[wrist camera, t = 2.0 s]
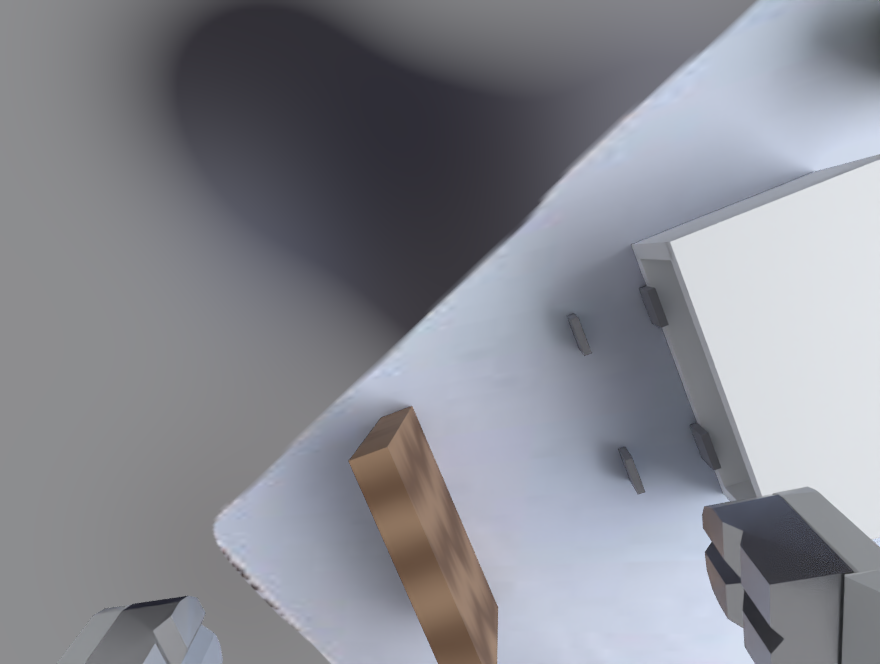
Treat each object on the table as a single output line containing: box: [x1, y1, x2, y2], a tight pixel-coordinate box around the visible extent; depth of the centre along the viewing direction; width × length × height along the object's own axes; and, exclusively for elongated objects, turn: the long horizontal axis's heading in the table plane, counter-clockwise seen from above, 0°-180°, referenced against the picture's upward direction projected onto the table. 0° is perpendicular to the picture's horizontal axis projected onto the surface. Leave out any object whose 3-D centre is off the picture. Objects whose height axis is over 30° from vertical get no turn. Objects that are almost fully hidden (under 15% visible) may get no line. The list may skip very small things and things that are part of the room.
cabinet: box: [567, 155, 880, 540], centre depth 37 cm, size 22×21×10 cm
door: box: [349, 406, 498, 664], centre depth 42 cm, size 20×4×10 cm, turn 23°
